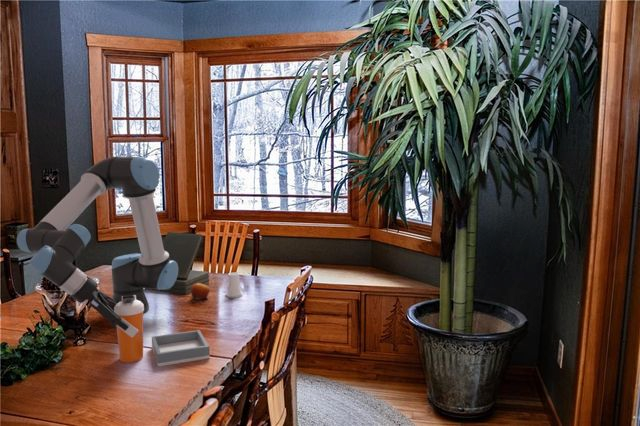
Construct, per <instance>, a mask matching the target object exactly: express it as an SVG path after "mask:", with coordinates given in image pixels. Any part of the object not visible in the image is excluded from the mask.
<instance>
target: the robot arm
mask: <svg viewBox="0 0 640 426" xmlns="http://www.w3.org/2000/svg"><path fill="white" fill-rule="evenodd" d="M160 174H161V173H160V171H159V168H158V166H157V164H156V163H155V161H154V160H152V159H151V158H149V157H141V156H110V157H107V158H104V159H102V160H100V161H98V162H97V163H95V164H94V165H92V166H90V167H89V168H88V169H87V170H86V171H85V172H84V173H83V174H82V175H81V176H80V181H79V182H78V183H77V184H76V185H75V186H74V187H73V188H72V189H71V190H70V191H69V192H68V193H67V194H66V195H65V196H64V197H63V198H62V199H61V200H60V201H59V202H58V203H57V204H56V205H55V206H54V207H53V208H51V210H50V211H49V212H48V213H47V214H46V215H45V216H44V217H43V218H42V219H41V220H40V221H39V222H38V224H36V225H35V226H34V227H33V228H31V227H30V228H24V229H22V230H20V231H19V232H18V233H17V237H16V244H17V247H18V248H19V249H20V250H21V251H23V252H26V253H31V254H34V255H33V256H32V257H31V258H30V260H29V266H30V267H31V268H33V269H34V270H35V271H36V272H37V273H38V274H39V275H41V276H42V277H44V278H45V279H47V280H48V281H50V282H51V283H52V284H54V285H55V286H56V287H58V288H59V289H60V292H64V293H65V294H67V295H71V298H73V300H75V301H76V302H78V303H80V304H83V303H84V302H86V301H89V302H90V303H89V304H88V305H89V306H90V307H92V308H93V309H94V310H95V311H97V313H99V314H100V316H102V317H103V318H104V319H105V321H108V323H110V324H111V327H112V328H117V327H118V328H120V329H121V330H123V331H124V332H125V333H127V334H128V335H129V336H131V337H132V338H133V337H134V335H135V334H136V333H137V332H138V331H139V330H138V329H136V328H135V327H134V326H132V325H131V324H130V323H128V322H127V321H126V320H124V319H123V318H120V317H119V316H118V315H117V314H116V313H115V312H114V307H115V305H116V304H117V303H119V302H121V301H122V296H130V295H135V296H136V300H139V301H141V302H142V303H143V304H144V311H143V314H145V313H147V312H149V310H150V308H149V307H150V306H149V305H150V304H149V302H148V299H147V296H146V294H145V292H144V290H145V288H151V289H158V290H161V289H165V290H166V289H169V288H171V287H172V286H173V285H174V283H175V281H176V279H177V276H178V264H177V262H175V261H173V260H170V256H169V253H168V252H167V251H165V250H164V247H163V237H162V233H161V230H160V229H161V228H160V224H159V219H158V215H157V210H156V206H155V199H154V194H155V193H156V190H157V189H156V188H157V187H158V186H159V182H160V180H159V179H160V177H161V176H160ZM112 189H121V190H122V194H123V198H125V199H127V200H128V202H129V205H130V210H131V215H132V220H133V223H134V228H135V231H136V232H135V233H136V237H137V241H138V245H139V246H138V247H139V249H140V253H129V254H124V255H120V256H116V257H114V258H113V259H112V260H111V274H112V275H111V277H112V297H111V296H109V295H107V294H105V293H104V292H103V291H100V289H98V287H99V286H98V283H97V282H96V281H95V280H94V279H93V278H91V277H90V276H89V277H88V275H87V274H86V273H85V272H83V271H82V270H81V269H80V268H78V267H76V266H75V265H74V264H73V262H75V260H76V258H77V257H78V256H79V255H80V254H81V253H82V251H83V250H84V249H85V248H86V247H87V244H88V243H89V242H90V241H91V239H92V238H91V237H92V235H91V233H90V231H89V230H88V229H87V228H86V227H85V226H83V225H82V224H78V223H74V222H75V220H77V218H79V216H80V215H81V214H82V213H83V212H84V211H85V209H87V207H89V205H91V203H92V202H94V200H95V199H96V198H97V197H98V196H102V195H104V194H105V193H106V191H108V190H112ZM73 223H74V224H73ZM116 326H117V327H116Z"/></svg>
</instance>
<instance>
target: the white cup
mask: <svg viewBox="0 0 640 426" xmlns="http://www.w3.org/2000/svg"><path fill="white" fill-rule="evenodd" d="M227 274H228V286H227V291H226V292H225V297H227V298H232V299H233V298H240V297H243V291H242V289H241V287H240V281H239V280H240V273H239V272H236V271H235V272H229V273H227Z"/></svg>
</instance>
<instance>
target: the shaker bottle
mask: <svg viewBox="0 0 640 426" xmlns="http://www.w3.org/2000/svg"><path fill="white" fill-rule="evenodd" d="M143 311H144V304H143V303H142V302H141V301H139V300H136V296H135V295H130V296H122V301H121V302H119V303H117V304H116V305H115V307H114V312H115V313H116V314H117V315H118V316H119V317H120V318H123V319H124V320H126V321H127V322H128V323H130V324H131V325H132V326H134V327H135V328H136V329H138V330H139V331H138V332H137V333H136V334H135V335H134V337H133V338H132V337H131V336H129V335H128V334H127V333H125V332H124V331H123V330H121V329H120V328H118V327H117V326H115V328H116V334H117V343H118V344H117V345H118V353H119V355H118V356H119V360H120V362H122V363H134V362H138V361H141V360H142V359H143V358H144V313H143Z"/></svg>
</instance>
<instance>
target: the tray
mask: <svg viewBox="0 0 640 426" xmlns="http://www.w3.org/2000/svg"><path fill="white" fill-rule="evenodd" d="M151 349H152V351H153V356H154V358H155V361H156V362H155V363H156V365H157V367H163V366H164V367H165V366H170V365H176V364H183V363H187V362H193V361H200V360H206V359H210V357H211V355H210V345H209V343H208V341H207V340H206V338H205V337H204V335H203V333H202V332H201V330H200V329H196V330H189V331H182V332H175V333H170V334H162V335H161V334H160V335H152V336H151Z"/></svg>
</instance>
